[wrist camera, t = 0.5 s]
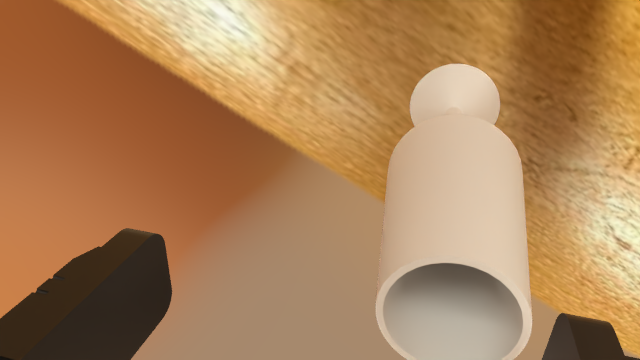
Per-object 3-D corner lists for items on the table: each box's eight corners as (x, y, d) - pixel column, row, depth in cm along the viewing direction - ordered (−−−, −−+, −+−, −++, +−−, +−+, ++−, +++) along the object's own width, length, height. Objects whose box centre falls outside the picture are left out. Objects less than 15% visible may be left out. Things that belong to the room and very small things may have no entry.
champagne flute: (392, 113, 37) (307, 314, 16) (449, 44, 34) (437, 181, 13) (457, 164, 37) (460, 426, 16) (520, 100, 34) (624, 325, 13)
